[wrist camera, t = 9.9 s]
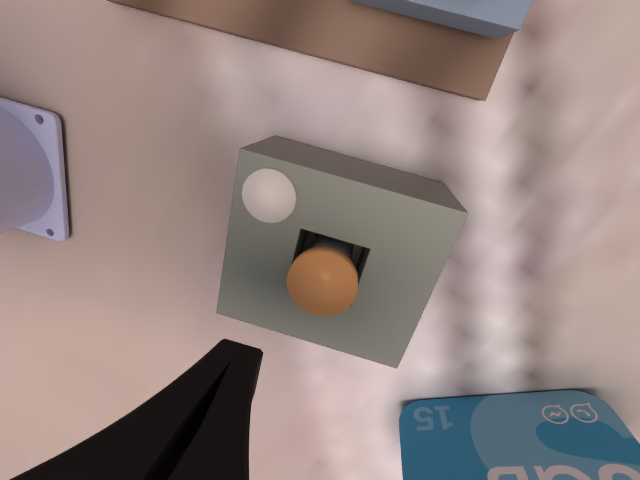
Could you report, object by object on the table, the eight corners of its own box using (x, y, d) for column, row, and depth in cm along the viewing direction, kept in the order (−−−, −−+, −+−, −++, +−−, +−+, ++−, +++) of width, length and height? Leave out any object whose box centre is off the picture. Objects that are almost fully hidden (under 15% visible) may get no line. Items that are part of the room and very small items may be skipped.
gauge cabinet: (251, 266, 21) (214, 315, 16) (275, 135, 18) (237, 149, 13) (392, 308, 20) (397, 371, 16) (443, 182, 17) (469, 214, 12)
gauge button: (302, 256, 18) (280, 304, 14) (315, 208, 17) (294, 244, 13) (353, 271, 18) (346, 324, 14) (369, 223, 17) (366, 265, 13)
